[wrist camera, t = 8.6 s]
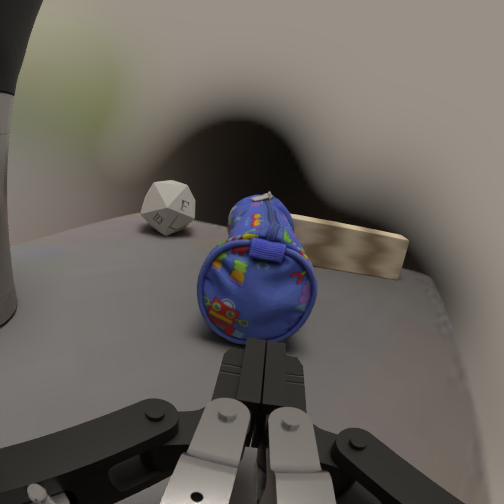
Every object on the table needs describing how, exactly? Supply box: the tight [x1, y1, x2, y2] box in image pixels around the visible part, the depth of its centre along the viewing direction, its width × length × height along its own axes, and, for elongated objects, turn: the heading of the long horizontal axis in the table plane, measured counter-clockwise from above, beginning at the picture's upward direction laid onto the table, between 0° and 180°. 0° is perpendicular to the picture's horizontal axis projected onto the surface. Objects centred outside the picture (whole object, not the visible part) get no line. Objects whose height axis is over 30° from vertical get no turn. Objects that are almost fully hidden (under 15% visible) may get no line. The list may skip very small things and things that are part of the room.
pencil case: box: [197, 192, 317, 345], centre depth 32 cm, size 22×9×10 cm, turn 177°
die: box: [140, 180, 195, 236], centre depth 48 cm, size 8×9×10 cm
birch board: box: [290, 214, 409, 280], centre depth 44 cm, size 24×3×6 cm, turn 85°
